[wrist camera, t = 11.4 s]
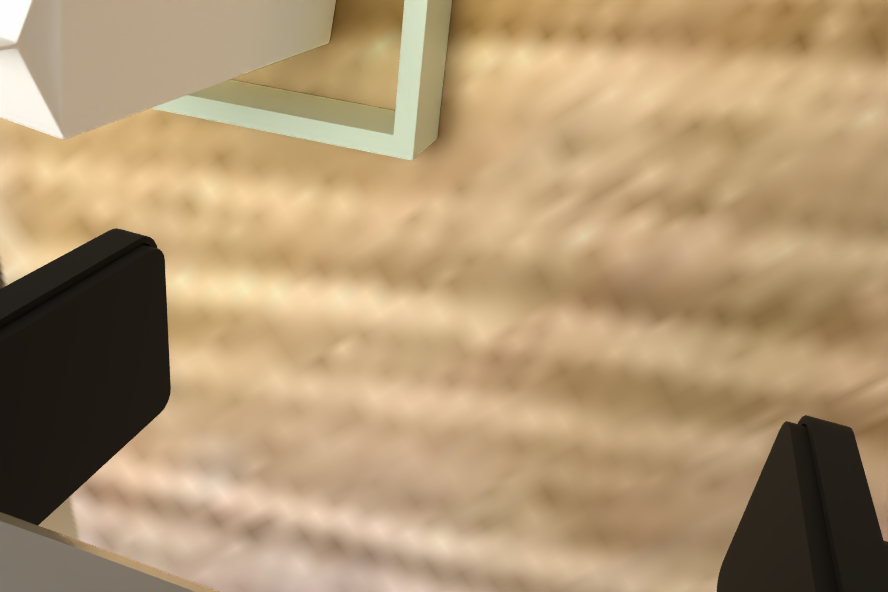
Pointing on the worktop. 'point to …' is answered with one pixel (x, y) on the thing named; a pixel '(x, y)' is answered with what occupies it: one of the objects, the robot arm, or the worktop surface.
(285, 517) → the worktop surface
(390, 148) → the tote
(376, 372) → the worktop surface
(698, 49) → the worktop surface
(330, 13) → the milk
